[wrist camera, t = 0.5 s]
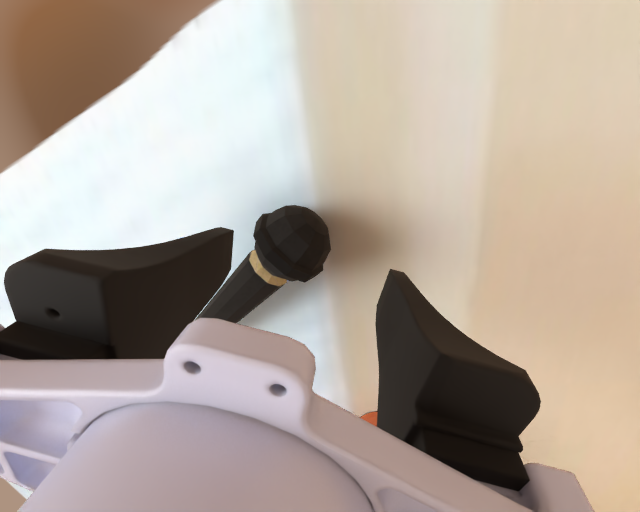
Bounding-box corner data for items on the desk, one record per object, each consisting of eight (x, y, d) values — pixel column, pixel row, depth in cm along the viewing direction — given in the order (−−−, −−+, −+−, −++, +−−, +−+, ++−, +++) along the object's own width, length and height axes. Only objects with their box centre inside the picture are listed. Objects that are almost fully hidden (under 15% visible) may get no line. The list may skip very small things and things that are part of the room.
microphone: (208, 346, 33) (342, 219, 24) (193, 399, 28) (351, 266, 20) (157, 324, 30) (286, 176, 22) (132, 378, 26) (283, 217, 17)
